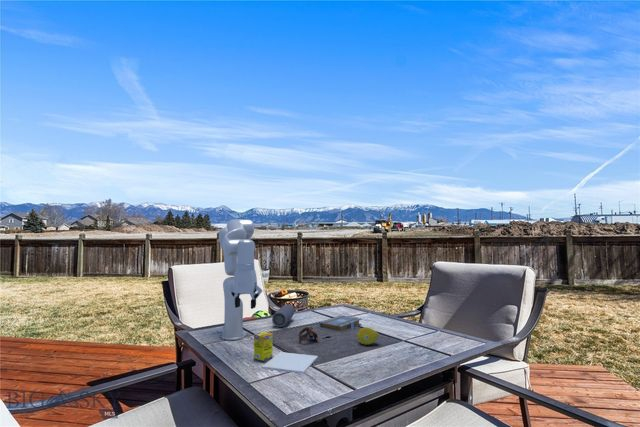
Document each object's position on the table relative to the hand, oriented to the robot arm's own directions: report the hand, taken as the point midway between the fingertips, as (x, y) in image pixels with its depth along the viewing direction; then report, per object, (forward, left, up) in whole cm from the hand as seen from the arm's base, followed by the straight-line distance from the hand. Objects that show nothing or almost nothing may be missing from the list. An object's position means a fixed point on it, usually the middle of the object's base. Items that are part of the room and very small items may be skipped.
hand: (245, 307), depth 154 cm
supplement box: (+9, 0, -22) cm, 24 cm away
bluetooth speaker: (-6, +57, -22) cm, 61 cm away
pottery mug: (+20, +30, -22) cm, 42 cm away
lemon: (+49, +33, -22) cm, 63 cm away
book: (+29, +61, -22) cm, 71 cm away
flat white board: (+22, 0, -22) cm, 31 cm away
